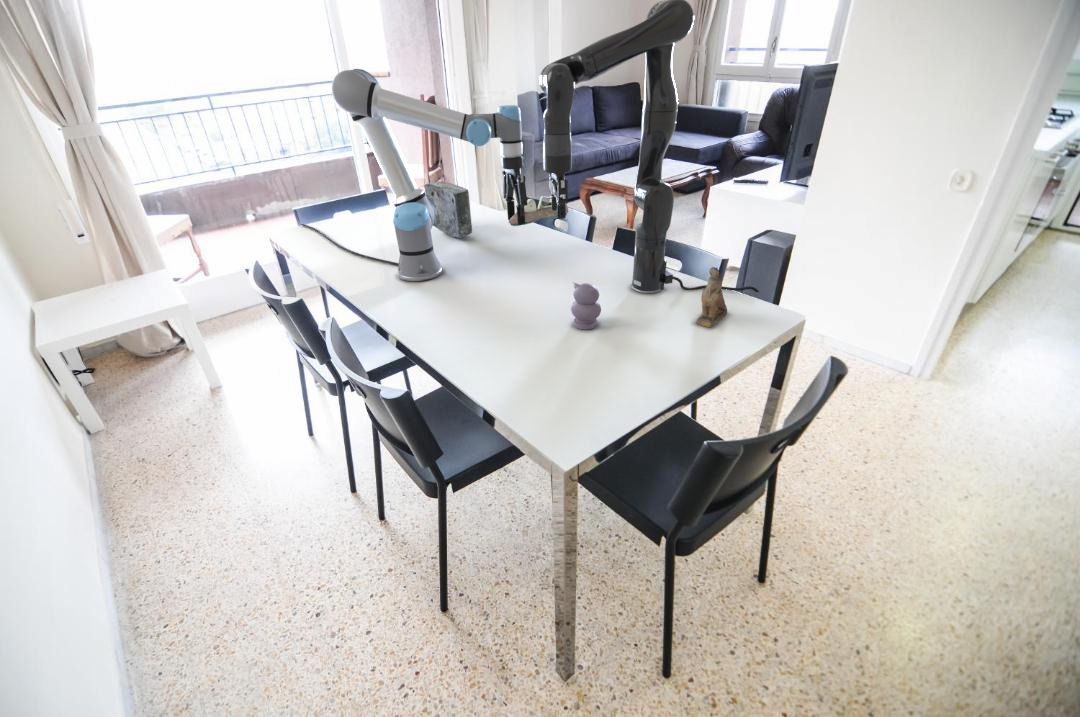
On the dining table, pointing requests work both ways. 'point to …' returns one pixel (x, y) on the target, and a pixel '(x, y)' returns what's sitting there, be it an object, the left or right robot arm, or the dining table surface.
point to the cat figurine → (585, 306)
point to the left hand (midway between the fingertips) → (516, 221)
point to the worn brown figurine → (712, 301)
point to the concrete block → (450, 208)
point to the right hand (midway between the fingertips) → (558, 214)
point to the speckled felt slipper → (536, 212)
